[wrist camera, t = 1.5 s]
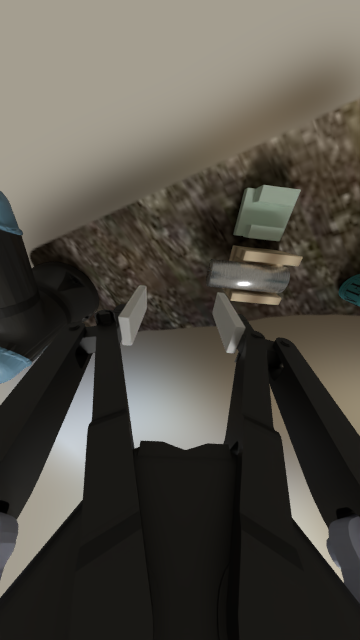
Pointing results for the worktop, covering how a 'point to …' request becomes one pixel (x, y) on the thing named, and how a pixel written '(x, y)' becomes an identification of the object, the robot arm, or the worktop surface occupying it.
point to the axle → (247, 276)
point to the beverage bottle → (351, 290)
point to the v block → (265, 212)
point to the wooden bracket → (259, 258)
